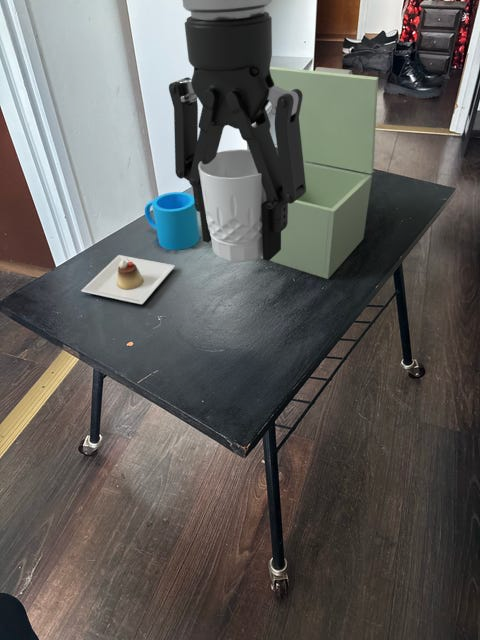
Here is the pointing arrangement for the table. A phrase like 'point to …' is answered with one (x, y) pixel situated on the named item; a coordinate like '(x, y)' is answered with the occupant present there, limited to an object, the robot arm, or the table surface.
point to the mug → (174, 220)
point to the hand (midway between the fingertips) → (241, 245)
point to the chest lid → (334, 115)
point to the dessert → (129, 279)
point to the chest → (325, 220)
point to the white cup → (233, 205)
